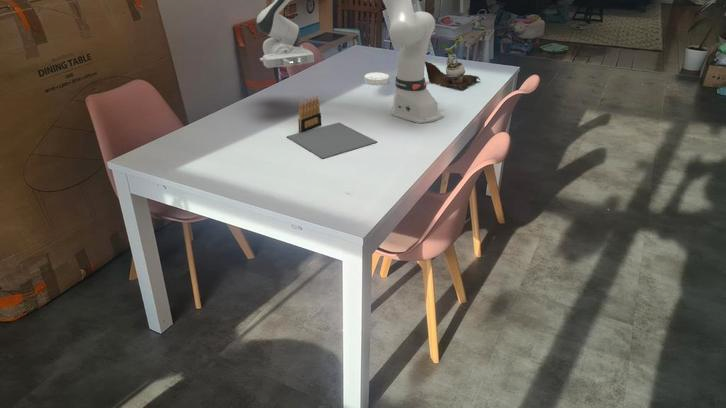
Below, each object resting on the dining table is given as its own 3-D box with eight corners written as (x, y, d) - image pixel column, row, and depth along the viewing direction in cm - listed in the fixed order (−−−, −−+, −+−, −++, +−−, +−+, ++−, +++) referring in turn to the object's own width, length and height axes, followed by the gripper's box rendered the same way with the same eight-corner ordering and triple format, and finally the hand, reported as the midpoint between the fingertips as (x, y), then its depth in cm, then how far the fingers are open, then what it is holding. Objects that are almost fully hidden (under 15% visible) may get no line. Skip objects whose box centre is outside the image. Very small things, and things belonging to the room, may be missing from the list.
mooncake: (387, 78, 263) (388, 71, 261) (389, 85, 253) (389, 78, 251) (363, 78, 263) (364, 71, 261) (364, 85, 252) (364, 78, 251)
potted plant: (464, 96, 247) (453, 44, 235) (430, 98, 259) (417, 49, 247) (482, 79, 259) (472, 29, 247) (448, 81, 271) (437, 34, 259)
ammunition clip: (301, 132, 200) (300, 102, 194) (298, 131, 201) (296, 101, 195) (321, 125, 207) (320, 95, 201) (318, 123, 208) (317, 94, 202)
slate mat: (377, 142, 193) (377, 141, 192) (322, 159, 180) (322, 158, 180) (339, 123, 209) (339, 122, 209) (286, 137, 196) (286, 136, 196)
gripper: (257, 50, 208) (269, 58, 197) (305, 45, 216) (319, 52, 205) (258, 66, 211) (270, 75, 200) (306, 60, 219) (319, 68, 208)
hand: (295, 63), depth 203 cm, fingers open, 2 cm apart
